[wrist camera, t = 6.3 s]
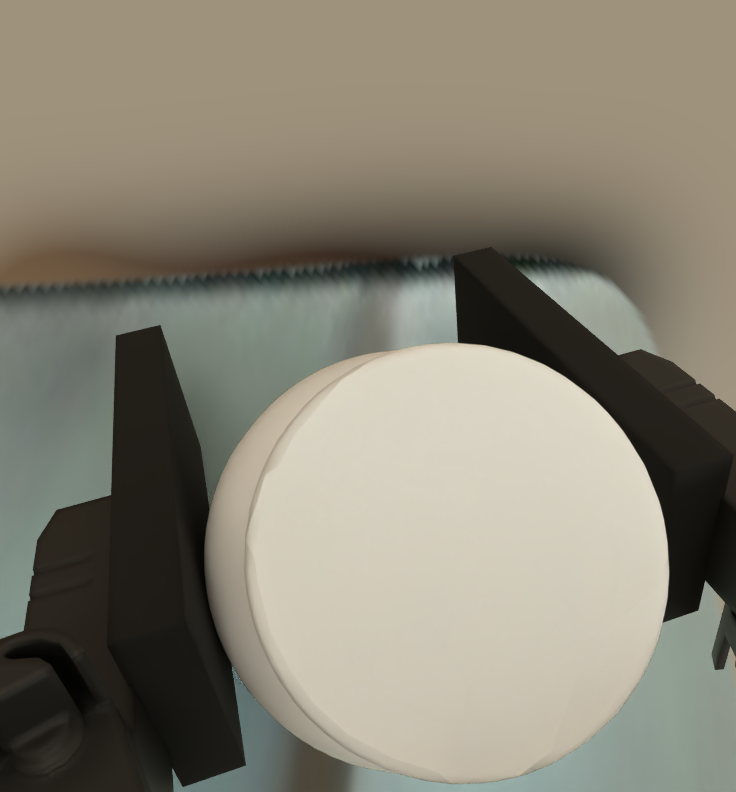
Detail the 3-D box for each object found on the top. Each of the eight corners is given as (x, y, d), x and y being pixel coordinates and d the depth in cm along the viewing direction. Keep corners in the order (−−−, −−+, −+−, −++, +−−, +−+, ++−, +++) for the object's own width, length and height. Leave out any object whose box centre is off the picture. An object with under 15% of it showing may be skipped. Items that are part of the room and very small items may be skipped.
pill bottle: (370, 381, 17) (478, 165, 7) (525, 555, 16) (860, 568, 7) (188, 536, 15) (30, 524, 6) (350, 728, 15) (456, 1042, 6)
